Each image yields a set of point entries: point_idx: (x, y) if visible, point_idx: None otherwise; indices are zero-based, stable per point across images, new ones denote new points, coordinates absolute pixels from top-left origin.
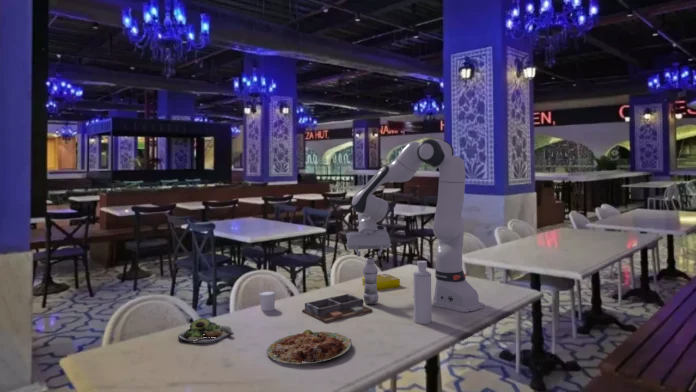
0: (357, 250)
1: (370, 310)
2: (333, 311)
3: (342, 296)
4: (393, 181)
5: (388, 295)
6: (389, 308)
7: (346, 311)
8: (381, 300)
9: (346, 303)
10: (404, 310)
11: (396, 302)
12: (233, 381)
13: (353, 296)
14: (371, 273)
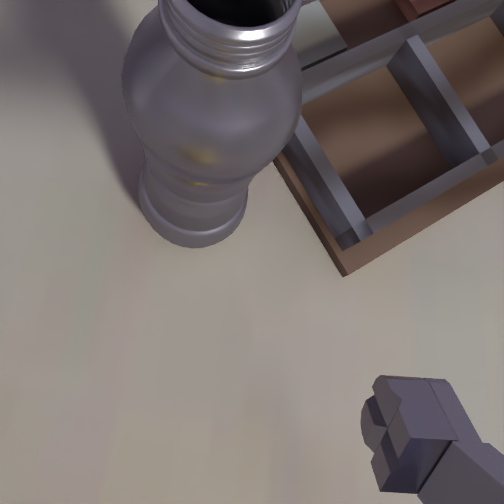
0: (493, 465)
1: None
2: (434, 5)
3: (396, 201)
4: None
5: (13, 395)
6: (90, 85)
7: (359, 43)
8: (103, 267)
9: (375, 39)
10: (3, 26)
11: (4, 199)
12: None
13: (325, 167)
14: (213, 14)
